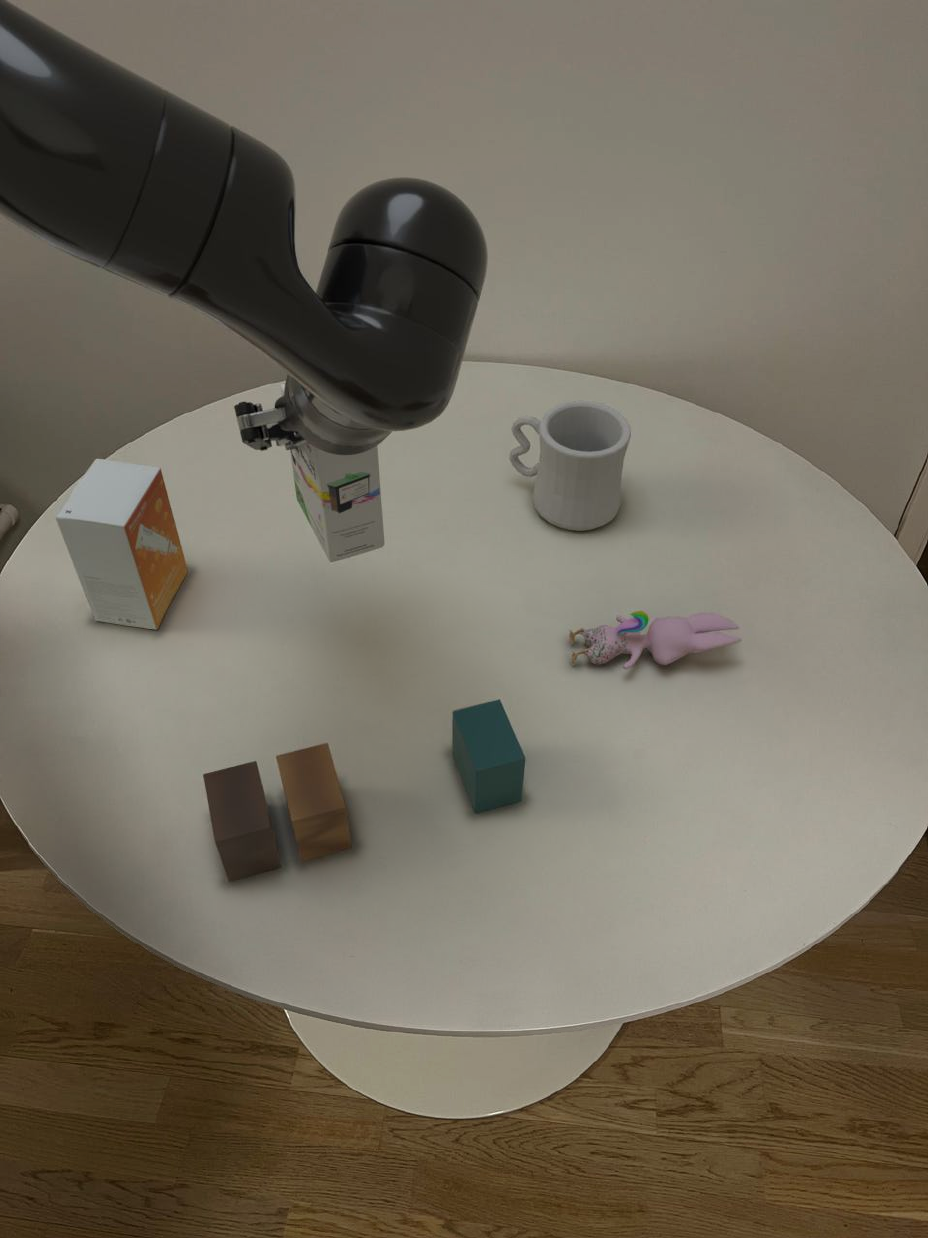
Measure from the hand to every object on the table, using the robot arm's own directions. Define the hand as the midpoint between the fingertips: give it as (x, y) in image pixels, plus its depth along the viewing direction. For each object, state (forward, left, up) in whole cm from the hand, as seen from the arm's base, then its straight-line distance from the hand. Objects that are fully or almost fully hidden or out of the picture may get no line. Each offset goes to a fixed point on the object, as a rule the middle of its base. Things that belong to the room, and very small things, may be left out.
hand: (324, 428), depth 77 cm
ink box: (0, -2, -8) cm, 9 cm away
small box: (-18, +9, -22) cm, 30 cm away
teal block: (+7, -20, -22) cm, 31 cm away
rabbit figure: (+25, -12, -22) cm, 36 cm away
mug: (+25, +10, -22) cm, 35 cm away
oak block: (-7, -20, -22) cm, 31 cm away
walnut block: (-13, -20, -22) cm, 32 cm away
